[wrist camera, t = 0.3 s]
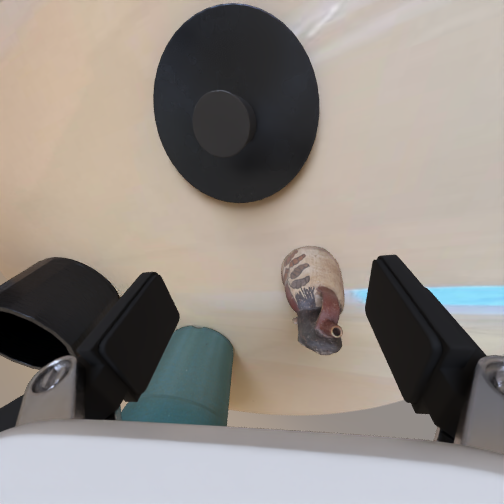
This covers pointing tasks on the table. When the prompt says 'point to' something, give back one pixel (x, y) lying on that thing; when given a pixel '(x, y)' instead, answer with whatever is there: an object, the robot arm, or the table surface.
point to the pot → (51, 310)
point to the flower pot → (188, 381)
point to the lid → (236, 103)
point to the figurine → (315, 297)
